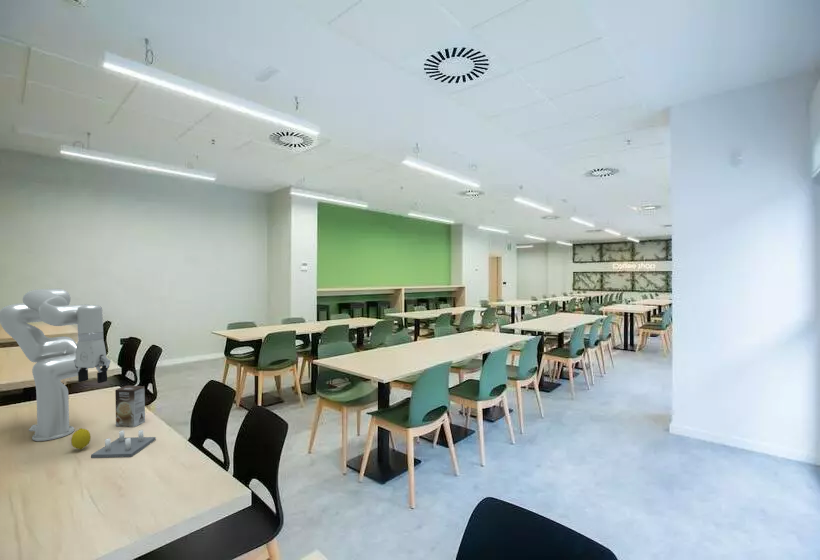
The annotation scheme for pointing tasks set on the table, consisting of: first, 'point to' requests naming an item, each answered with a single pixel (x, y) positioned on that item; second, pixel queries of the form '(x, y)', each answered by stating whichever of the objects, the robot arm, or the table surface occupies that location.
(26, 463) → the table surface
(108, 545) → the table surface
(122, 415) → the coffee box
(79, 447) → the lemon
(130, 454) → the grey pegged plate
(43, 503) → the table surface
